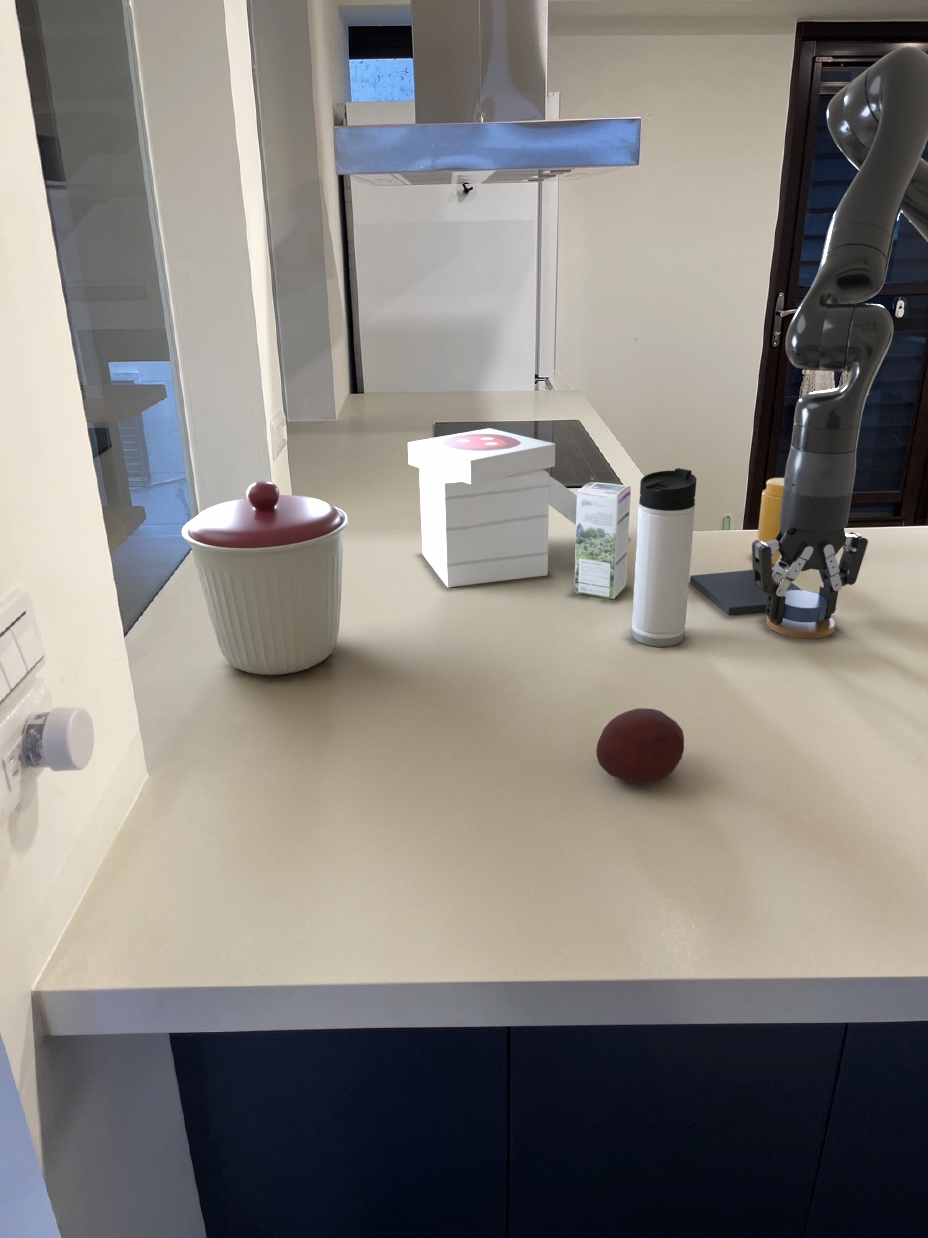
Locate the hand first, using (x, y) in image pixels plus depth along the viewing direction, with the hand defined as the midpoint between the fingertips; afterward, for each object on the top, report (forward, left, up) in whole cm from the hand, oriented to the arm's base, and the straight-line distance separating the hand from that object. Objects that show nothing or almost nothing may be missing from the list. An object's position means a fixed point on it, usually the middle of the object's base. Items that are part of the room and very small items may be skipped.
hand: (799, 618), depth 111 cm
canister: (+63, -6, -1) cm, 63 cm away
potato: (+31, +27, -1) cm, 41 cm away
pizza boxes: (+28, -32, -1) cm, 42 cm away
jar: (-9, -23, -1) cm, 25 cm away
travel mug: (+18, -1, -1) cm, 18 cm away
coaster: (0, 0, -1) cm, 1 cm away
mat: (+1, -11, -1) cm, 11 cm away
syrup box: (+20, -17, -1) cm, 26 cm away
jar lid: (0, 0, +2) cm, 2 cm away
